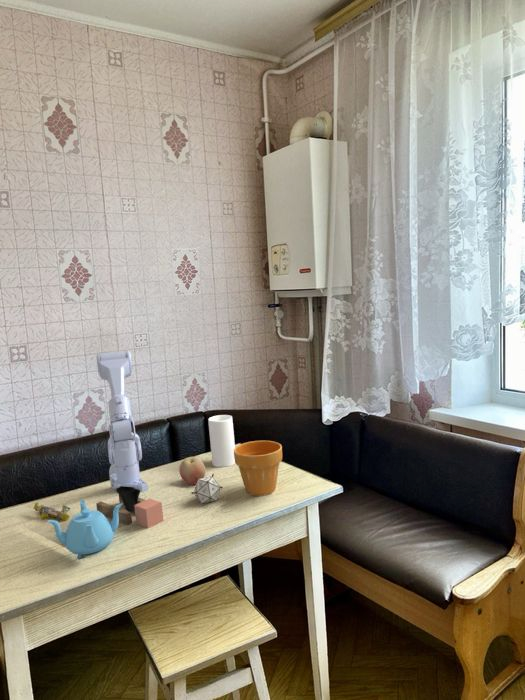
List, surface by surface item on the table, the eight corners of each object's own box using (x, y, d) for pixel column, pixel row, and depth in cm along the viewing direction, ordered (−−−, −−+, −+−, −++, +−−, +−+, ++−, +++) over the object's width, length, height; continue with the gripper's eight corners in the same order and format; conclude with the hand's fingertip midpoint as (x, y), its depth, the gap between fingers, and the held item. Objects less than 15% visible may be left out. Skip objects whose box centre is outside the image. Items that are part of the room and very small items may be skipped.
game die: (213, 517, 151) (216, 498, 145) (186, 507, 153) (187, 488, 146) (225, 492, 158) (228, 472, 151) (198, 482, 159) (200, 462, 152)
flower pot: (283, 479, 166) (280, 438, 164) (286, 497, 152) (283, 453, 150) (237, 483, 166) (234, 442, 164) (237, 501, 152) (233, 457, 150)
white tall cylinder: (209, 467, 182) (205, 421, 180) (215, 459, 190) (211, 415, 188) (233, 466, 181) (229, 420, 179) (238, 458, 189) (234, 414, 187)
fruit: (182, 489, 165) (179, 464, 164) (179, 480, 172) (177, 456, 171) (207, 484, 166) (205, 460, 165) (204, 476, 174) (202, 452, 173)
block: (136, 523, 141) (134, 505, 140) (151, 516, 144) (149, 498, 144) (148, 527, 137) (146, 509, 137) (163, 520, 141) (161, 502, 140)
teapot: (93, 567, 122) (88, 525, 121) (49, 559, 127) (43, 519, 126) (128, 540, 134) (123, 501, 133) (86, 534, 139) (81, 497, 138)
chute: (97, 517, 149) (96, 503, 149) (124, 505, 156) (122, 492, 155) (128, 529, 140) (126, 514, 140) (154, 516, 147) (153, 502, 146)
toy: (49, 502, 158) (79, 508, 149) (42, 519, 156) (71, 527, 147) (35, 496, 155) (64, 503, 146) (26, 514, 153) (56, 522, 144)
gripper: (97, 463, 146) (103, 511, 147) (130, 473, 136) (136, 523, 138) (119, 456, 151) (125, 501, 153) (152, 464, 142) (157, 513, 143)
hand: (131, 511), depth 146 cm, fingers closed
